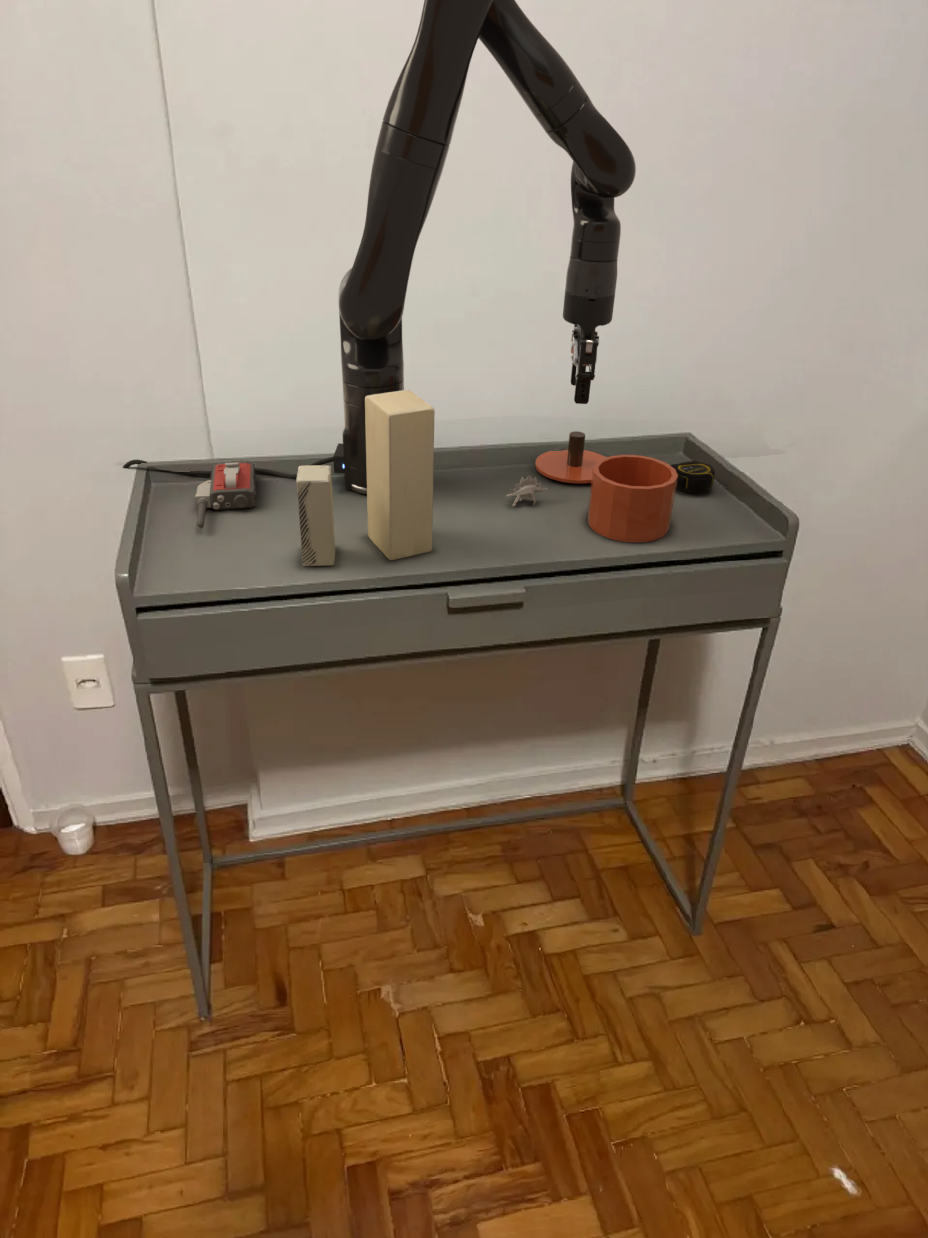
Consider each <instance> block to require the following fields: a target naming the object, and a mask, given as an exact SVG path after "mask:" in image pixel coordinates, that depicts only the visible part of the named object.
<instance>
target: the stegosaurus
mask: <svg viewBox="0 0 928 1238" xmlns="http://www.w3.org/2000/svg"><path fill="white" fill-rule="evenodd" d="M541 484H542V482H538V479H537V477H534V478H532V475H531V474H530V475H528V476H527V477H526V478H524V477H523V476H521V478H520V482H519V483H518V482H516V483H515V487H513V489H512V491H511V492H510V493H508V494H506V497H508V498H509V497H511V498H515V499H514V501H513V504H512V505H511V506H512V507H515V506H517V503H518V502H523V501H524V499H525V498H530V499H531V500H532V501H533V504H532V506H535V505H536V503H537V502H536V499H535V496H534V494H535V492H537V493H539V492H544V491H547V490H549V487H548V486H542V485H541Z"/></svg>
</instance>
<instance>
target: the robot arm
mask: <svg viewBox="0 0 928 1238" xmlns="http://www.w3.org/2000/svg"><path fill="white" fill-rule="evenodd" d="M422 5H423V6H422V11H421V15H420V20H419V26H418V28H417V31H416V32H417V33H416V36H415V38H414V42H413V44H412V46H411V49H410V51H409V54H408V56H407V58H406V61H405V62H404V65H403V67H402V68H401V71H400V73H399V75H398V77H397V79H396V82H395V84H394V86H393V89H392V91H391V94H390V96H389V99H388V102H387V104H386V108H385V111H384V114H383V117H382V121H381V125H380V129H379V132H378V133H379V134H378V137H377V142H376V145H375V150H374V155H373V159H372V164H371V170H370V177H369V183H368V192H367V193H368V194H367V202H366V213H365V214H366V215H365V221H364V227H363V233H362V236H361V240H360V244H359V246H358V249H357V253H356V255H355V258H354V261H353V264H352V267H351V268H350V269H348V270H347V271H346V272H345V274H344V275H343V277H342V278H341V280H340V282H339V287H338V295H337V296H338V297H337V298H338V301H337V302H338V314H339V316H338V317H339V334H340V362H341V363H340V364H341V378H342V380H341V381H342V398H343V399H342V400H343V420H344V421H343V422H344V428H343V431H342V443H339V442H338V443H337V446H336V447H335V448H336V449H335V451H334V453H333V456H330V457H326V458H322V459H320V460H317V461H315V462H313V463H311V464H309V466H317V465H327V464H329V463H333V472H334V474H344V490H346V491H353V492H356V493H357V494H361V495H367V467H366V426H365V397H366V396H369V395H374V394H382V393H388V392H395V391H402V390H405V362H404V361H405V359H404V345H403V314H404V311H405V303H406V297H407V291H408V286H409V285H408V284H409V279H410V274H411V270H412V264H413V261H414V256H415V252H416V247H417V245H418V241H419V239H420V236H421V233H422V230H423V228H424V226H425V223H426V220H427V218H428V215H429V213H430V209H431V206H432V204H433V201H434V198H435V195H436V192H437V189H438V186H439V183H440V180H441V177H442V174H443V170H444V167H445V164H446V160H447V157H448V154H449V151H450V145H451V144H452V140H453V135H454V130H455V127H456V123H457V119H458V115H459V112H460V108H461V104H462V99H463V97H464V92H465V87H466V82H467V79H468V78H467V77H468V73H469V69H470V65H471V62H472V57H473V55H474V52H475V49H476V46H477V43H478V41H480V42H481V43H482V44H483V46H484V47H485V48H486V49H487V51H488V52H489V53H490V55H491V56H492V57H493V58H494V60H495V62H496V63H497V64H498V65H499V68H501V70H502V71H503V73H504V75H505V76H506V77H507V79H508V80H509V81H510V83H511V84H512V86H513V88H514V89H515V90H516V92H517V93H518V95H519V96H520V98H521V99H522V101H523V102H524V104H525V105H526V106H527V108H528V109H529V111H530V112H531V114H532V115H533V117H534V118H535V119H536V121H537V122H538V124H539V125H540V126H541V128H542V129H543V131H544V132H545V134H546V135H547V136H548V137H549V139H550V140H551V141H552V142H553V143H554V144H555V145H557V146H558V147H560V148H561V149H562V150H564V152H566V153H567V155H568V156H569V157H570V159H571V160H572V163H571V164H572V165H571V169H570V198H571V213H572V219H573V225H572V232H571V241H570V242H571V243H570V252H569V260H568V265H567V269H566V275H565V288H564V296H563V297H564V298H563V309H562V319H563V320H564V321H565V322H567V323H568V324H571V325H574V326H573V330H571V334H570V336H571V339H570V340H571V342H570V353H571V356H570V359H571V361H572V363H571V373H570V385H571V386H574V389H575V390H574V395H573V401H574V403H575V404H576V405H587V404H588V403H589V401H590V391H591V386H592V385H591V384H592V381H594V380H595V378H596V374H595V372H596V364H597V360H598V347H599V345H600V336H599V335H598V334H599V332H598V331H596V328H598V327H599V326H601V327H604V326H607V325H609V324H610V323H611V322H612V320H613V314H614V307H615V299H616V291H617V290H616V289H617V281H618V261H619V251H620V244H621V234H622V224H621V221H620V220H621V219H620V218H619V217H618V215H617V214H616V209H615V199H616V198H618V197H621V196H623V195H624V194H625V193H627V192H628V191H629V190H630V188H631V187H632V185H633V184H634V181H635V177H636V174H637V173H636V172H637V170H636V169H637V166H636V165H637V164H636V161H635V157H634V155H633V152H632V151H631V149H630V147H629V146H628V144H627V142H626V141H625V140H624V138H623V137H622V136H621V135H620V134H619V132H618V131H617V130H616V129H615V128H614V127H613V126H612V125H611V123H610V122H609V121H608V120H607V118H605V117H604V116H603V115H602V113H600V111H599V110H598V109H597V108H596V106H595V105H594V104H593V101H592V100H591V98H590V96H589V94H588V93H587V91H586V90H585V89H584V87H583V86H582V84H581V83H580V81H579V79H578V77H577V76H576V75H575V73H574V71H573V70H572V68H570V66H569V65H568V64H567V62H566V60H565V59H564V58H563V57H562V56H561V55H560V53H559V52H558V51H557V49H556V48H555V47H554V46H553V45H552V44H551V43H550V42H549V40H547V38H546V37H545V36H544V35H543V34H542V33H541V32H540V30H538V28H537V27H536V26H535V25H534V24H533V23H532V21H531V20H530V18H528V16H527V15H526V14H525V12H524V11H523V10H522V8H521V7H520V5H519V4H518V2H517V1H516V0H424V2H423V4H422ZM587 367H588V371H587ZM147 462H148V461H146V460H142V459H131V460H128V461H127V462H126V463H125V464H123V466H122V469H128V468H130V467H131V466H134V465H139V464H141V463H147ZM254 468H255V474H265V475H269V476H274V477H277V478H278V477H279V478H283V479H284V478H285V479H291V480H297V473H295V474H294V473H292V474H291V473H290V474H289V473H285V472H280V471H276V470H272V469H267V468H261V467H260V468H259V467H254ZM176 473H177V474H183V475H191V476H203V477H204V476H207V477H211V470H197V471H190V472H176Z"/></svg>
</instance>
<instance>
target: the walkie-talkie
mask: <svg viewBox="0 0 928 1238" xmlns="http://www.w3.org/2000/svg"><path fill="white" fill-rule="evenodd" d="M230 461H231V462H224V461H221V462H222V463H218V462H217V463H218V464H217V463H215V464H216V465H215V464H214V465H212V468H211V470H212V471H211V470H210V471H211V476H209V480H208V479H207V480H206V481H204V482H202V483H200V484H199V485H197V488H196V494H195V495H194V501H195V507H196V509H197V510H198V511H197V517H196V527H197V528H200V529H203V528H204V526H205V519H206V510H207V509H212V510H215V511H219V510H220V511H221V510H239V509H251V508H254V507H255V506H256V499H257V495H256V494H257V488H256V481H257V480H256V479H257V477H256V473H255V468H256V467H255V464H254V463H253V462H251V461H250V460H246V461H245V460H230ZM249 461H250V462H249ZM223 462H224V463H223Z"/></svg>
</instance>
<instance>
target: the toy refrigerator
mask: <svg viewBox="0 0 928 1238" xmlns="http://www.w3.org/2000/svg"><path fill="white" fill-rule="evenodd" d="M435 415H436V414H435V408H434V407H433V405H430V404H429V403H428V402H427V401H425V400H424V399H423V398H421V397H420V396H418V395H417V394H416V393H415V392H413V391H412V390H410V389H404V390H402V391H395V392H388V393H382V394H374V395H369V396H366V397H365V426H366V467H367V494H366V503H367V507H366V509H367V535H368V539H370V541H371V542H372V543H373V544H374V545H375V546H376V547H377V548H378V549H379V550H380V551H381V553H382V554H383V555H384V556H385V557H386V558H387V559H388V560H389V561H394V560H399V559H404V558H407V557H413V556H417V555H422V554H426V553H429V552H432V550H433V519H434V518H433V517H434V515H433V513H434V463H435V462H434V458H435V457H434V456H435Z"/></svg>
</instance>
